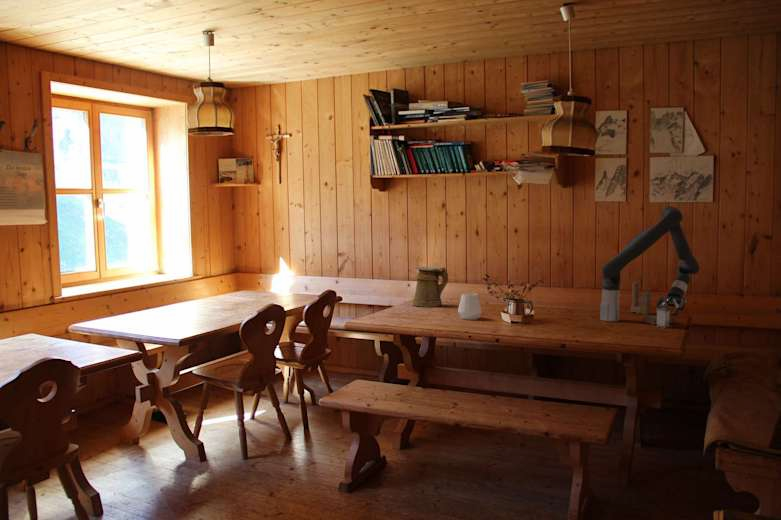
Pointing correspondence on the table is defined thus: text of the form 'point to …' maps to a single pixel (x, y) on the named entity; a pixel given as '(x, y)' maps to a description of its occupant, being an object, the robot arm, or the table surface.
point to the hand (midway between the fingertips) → (666, 314)
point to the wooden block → (640, 300)
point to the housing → (663, 317)
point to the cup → (469, 306)
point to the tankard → (429, 286)
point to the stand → (654, 320)
